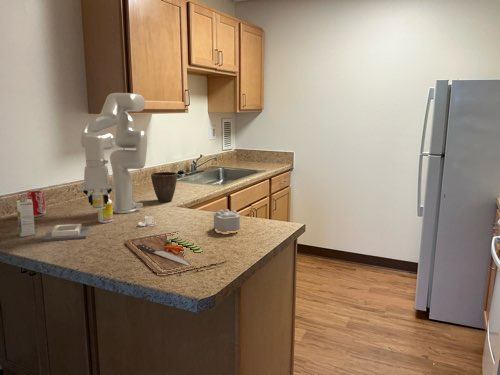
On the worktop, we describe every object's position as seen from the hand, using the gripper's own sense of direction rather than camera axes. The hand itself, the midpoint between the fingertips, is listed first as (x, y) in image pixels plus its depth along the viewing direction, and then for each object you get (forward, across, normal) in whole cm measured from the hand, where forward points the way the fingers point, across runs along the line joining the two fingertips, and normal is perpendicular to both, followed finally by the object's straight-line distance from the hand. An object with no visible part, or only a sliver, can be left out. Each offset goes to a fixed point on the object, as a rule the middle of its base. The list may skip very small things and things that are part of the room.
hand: (98, 203), depth 177 cm
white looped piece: (+12, -18, -1) cm, 22 cm away
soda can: (+12, +32, -28) cm, 44 cm away
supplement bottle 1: (+2, 0, 0) cm, 2 cm away
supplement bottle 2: (+12, -1, -9) cm, 15 cm away
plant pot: (+14, -31, -46) cm, 58 cm away
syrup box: (+10, +29, +4) cm, 31 cm away
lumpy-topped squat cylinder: (+11, -53, +18) cm, 57 cm away
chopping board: (+10, -29, +40) cm, 50 cm away
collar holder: (+10, +13, +9) cm, 18 cm away
